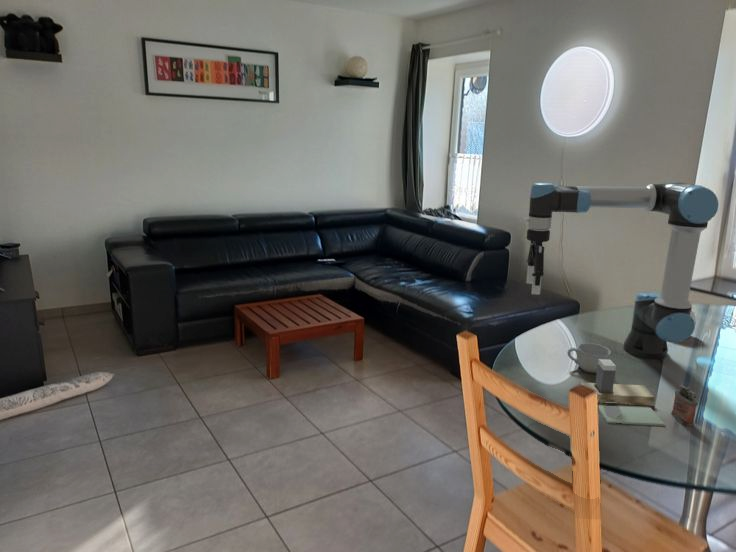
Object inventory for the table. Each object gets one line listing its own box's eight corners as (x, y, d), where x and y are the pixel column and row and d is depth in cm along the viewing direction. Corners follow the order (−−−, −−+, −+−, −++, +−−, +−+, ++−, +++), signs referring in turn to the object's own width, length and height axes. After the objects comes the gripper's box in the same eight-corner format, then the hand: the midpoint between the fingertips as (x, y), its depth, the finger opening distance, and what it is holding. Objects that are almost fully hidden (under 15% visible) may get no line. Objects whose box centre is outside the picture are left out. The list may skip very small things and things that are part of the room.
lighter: (668, 413, 164) (673, 382, 162) (678, 412, 165) (684, 382, 162) (685, 427, 157) (691, 395, 154) (696, 426, 157) (702, 394, 154)
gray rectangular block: (605, 394, 176) (610, 359, 172) (611, 401, 171) (616, 366, 168) (593, 393, 176) (598, 359, 173) (599, 401, 171) (604, 365, 168)
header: (642, 393, 176) (643, 385, 176) (653, 405, 169) (654, 397, 168) (579, 390, 177) (580, 382, 177) (587, 402, 170) (588, 393, 169)
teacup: (606, 365, 197) (609, 345, 195) (608, 378, 187) (611, 356, 185) (565, 360, 202) (568, 339, 199) (565, 371, 192) (568, 350, 190)
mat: (649, 408, 167) (649, 406, 167) (664, 425, 157) (664, 423, 157) (595, 406, 168) (596, 404, 168) (607, 423, 158) (607, 421, 158)
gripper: (522, 222, 200) (517, 278, 205) (532, 235, 176) (526, 298, 181) (544, 223, 199) (538, 279, 204) (556, 236, 175) (550, 299, 180)
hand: (532, 288), depth 193 cm, fingers open, 13 cm apart
